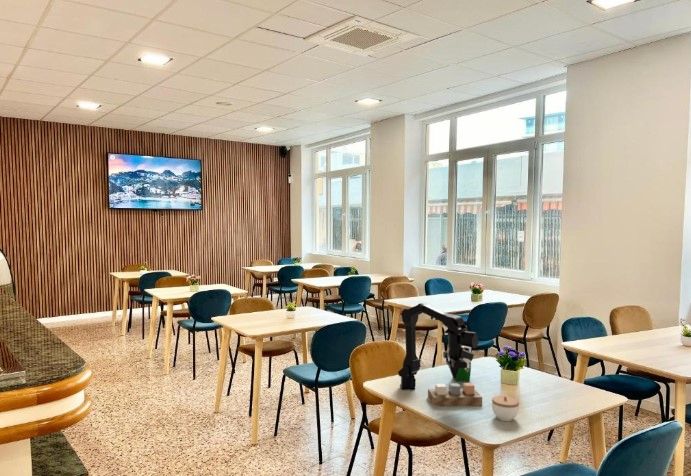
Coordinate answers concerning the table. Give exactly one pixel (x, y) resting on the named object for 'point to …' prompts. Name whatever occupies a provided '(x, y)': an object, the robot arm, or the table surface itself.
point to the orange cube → (468, 388)
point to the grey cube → (454, 388)
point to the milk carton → (464, 370)
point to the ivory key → (440, 389)
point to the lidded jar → (505, 407)
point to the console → (454, 399)
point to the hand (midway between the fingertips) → (454, 377)
